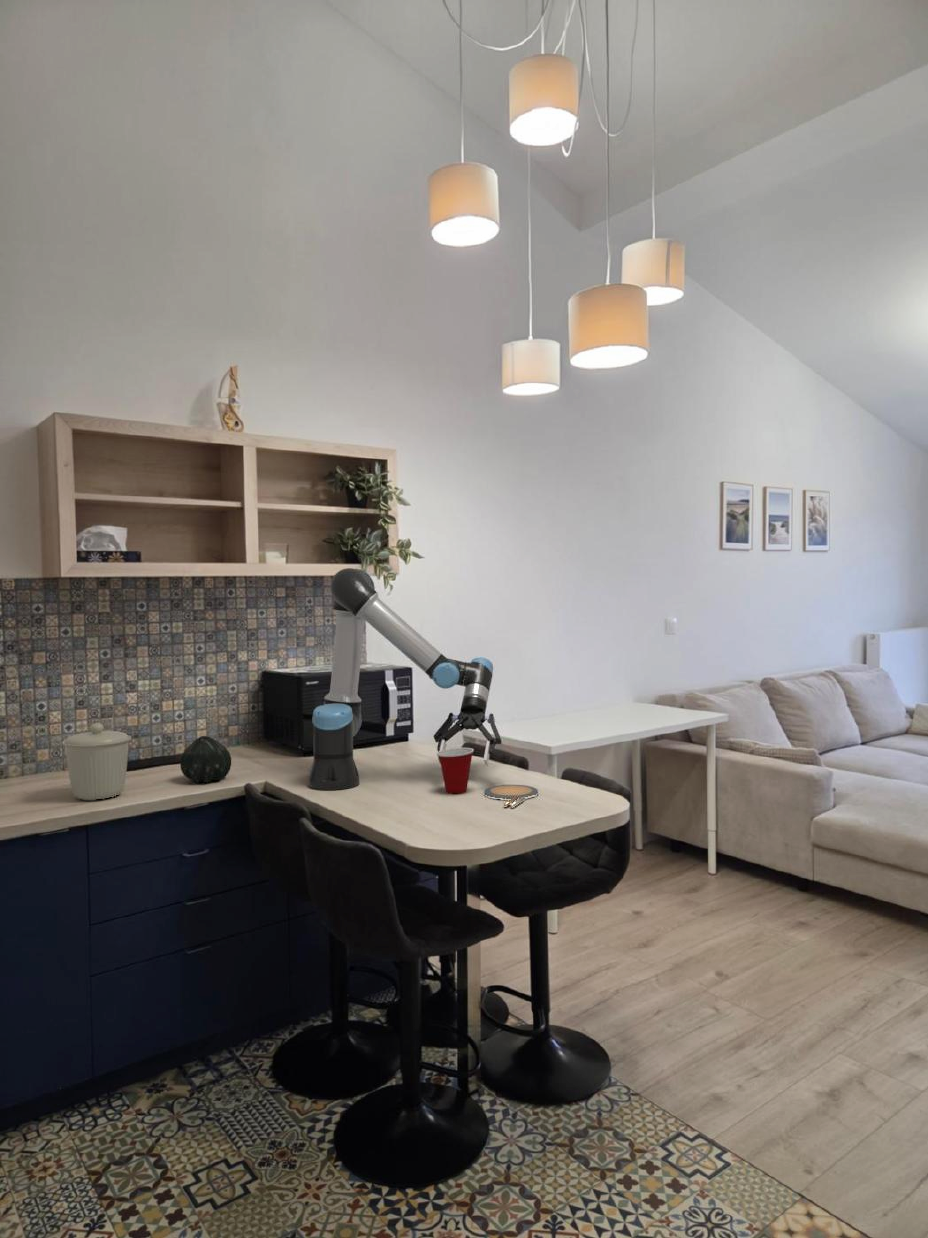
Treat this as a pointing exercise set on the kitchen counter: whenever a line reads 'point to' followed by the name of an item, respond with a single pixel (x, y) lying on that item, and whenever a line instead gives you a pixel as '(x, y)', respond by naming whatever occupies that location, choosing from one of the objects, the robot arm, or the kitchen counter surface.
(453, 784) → the plastic cup
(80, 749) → the canister
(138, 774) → the kitchen counter surface
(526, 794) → the coaster
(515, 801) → the wire stubs
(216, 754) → the squash
